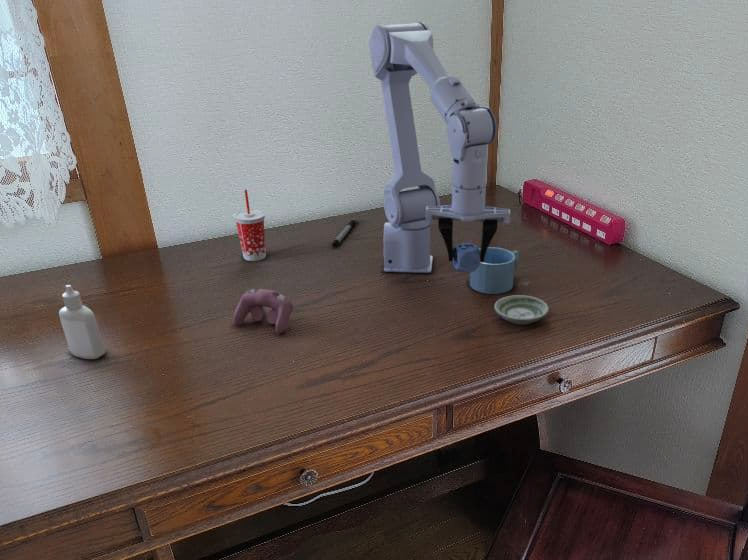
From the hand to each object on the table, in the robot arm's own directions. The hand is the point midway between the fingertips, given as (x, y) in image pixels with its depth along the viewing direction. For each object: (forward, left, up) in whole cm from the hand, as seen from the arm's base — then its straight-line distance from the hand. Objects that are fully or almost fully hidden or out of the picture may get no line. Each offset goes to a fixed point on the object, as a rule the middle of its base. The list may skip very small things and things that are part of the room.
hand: (466, 259), depth 131 cm
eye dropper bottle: (-61, -23, -9) cm, 65 cm away
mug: (+6, +10, -9) cm, 14 cm away
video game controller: (-35, -11, -9) cm, 37 cm away
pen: (-27, +32, -9) cm, 43 cm away
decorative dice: (0, 0, -2) cm, 2 cm away
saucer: (+10, -5, -9) cm, 15 cm away
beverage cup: (-44, +18, -9) cm, 48 cm away
